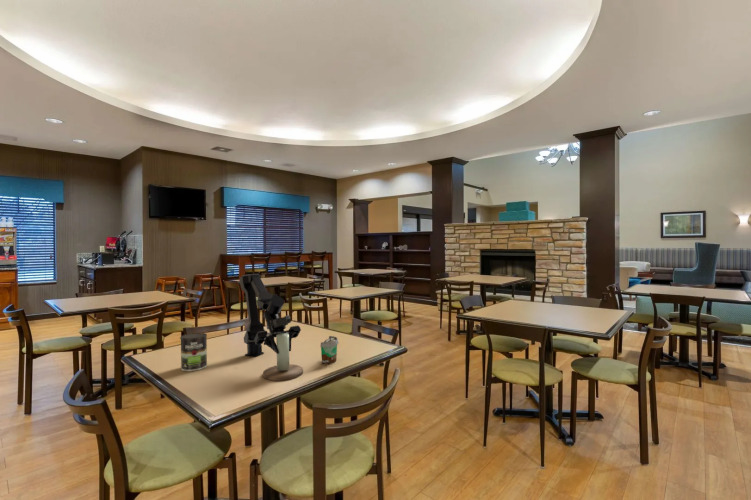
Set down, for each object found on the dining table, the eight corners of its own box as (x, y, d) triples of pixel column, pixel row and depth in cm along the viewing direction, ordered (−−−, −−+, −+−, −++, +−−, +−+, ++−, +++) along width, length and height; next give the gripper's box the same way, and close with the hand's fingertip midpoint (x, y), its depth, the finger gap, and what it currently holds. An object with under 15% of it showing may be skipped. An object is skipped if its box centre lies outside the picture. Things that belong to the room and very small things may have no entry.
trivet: (254, 377, 145) (254, 374, 145) (282, 365, 159) (281, 362, 159) (284, 383, 137) (284, 380, 137) (311, 370, 152) (310, 367, 152)
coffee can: (207, 368, 155) (207, 336, 155) (180, 373, 151) (180, 339, 150) (206, 362, 164) (206, 331, 164) (181, 366, 160) (180, 334, 160)
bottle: (275, 370, 146) (275, 336, 145) (278, 366, 151) (277, 333, 150) (288, 370, 146) (287, 336, 146) (290, 366, 151) (289, 333, 151)
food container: (334, 365, 157) (333, 343, 157) (320, 365, 158) (320, 342, 158) (342, 357, 169) (342, 336, 169) (329, 356, 170) (329, 335, 170)
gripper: (256, 312, 145) (267, 345, 137) (298, 306, 157) (311, 337, 148) (249, 328, 151) (260, 360, 143) (291, 321, 163) (302, 351, 155)
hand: (284, 352), depth 147 cm, fingers closed on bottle, 5 cm apart
